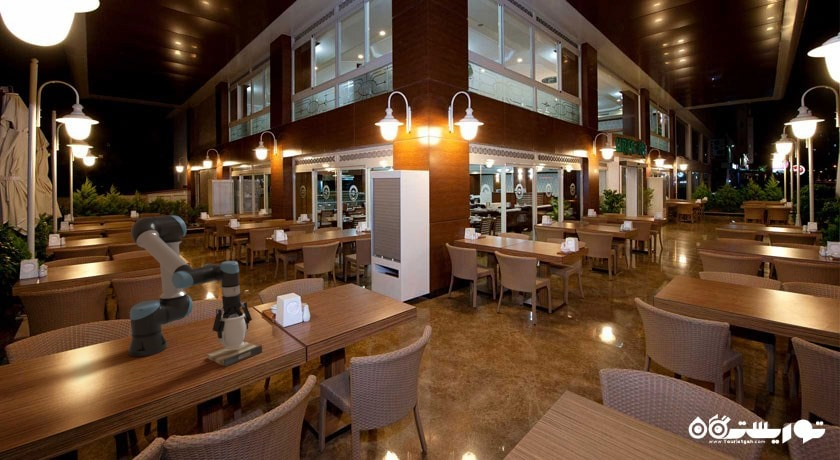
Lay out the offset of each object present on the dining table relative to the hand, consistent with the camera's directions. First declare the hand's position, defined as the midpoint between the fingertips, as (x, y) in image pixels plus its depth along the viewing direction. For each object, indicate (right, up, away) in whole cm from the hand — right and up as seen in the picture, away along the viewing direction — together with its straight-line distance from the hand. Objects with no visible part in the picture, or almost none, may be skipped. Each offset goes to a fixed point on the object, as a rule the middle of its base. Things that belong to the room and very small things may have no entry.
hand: (233, 340), depth 175 cm
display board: (0, -7, +1) cm, 7 cm away
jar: (0, -3, 0) cm, 3 cm away
